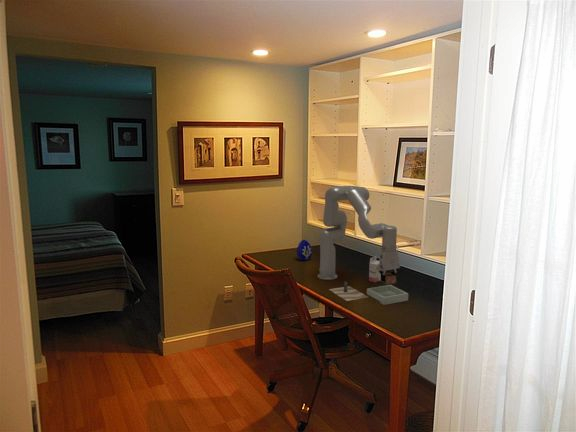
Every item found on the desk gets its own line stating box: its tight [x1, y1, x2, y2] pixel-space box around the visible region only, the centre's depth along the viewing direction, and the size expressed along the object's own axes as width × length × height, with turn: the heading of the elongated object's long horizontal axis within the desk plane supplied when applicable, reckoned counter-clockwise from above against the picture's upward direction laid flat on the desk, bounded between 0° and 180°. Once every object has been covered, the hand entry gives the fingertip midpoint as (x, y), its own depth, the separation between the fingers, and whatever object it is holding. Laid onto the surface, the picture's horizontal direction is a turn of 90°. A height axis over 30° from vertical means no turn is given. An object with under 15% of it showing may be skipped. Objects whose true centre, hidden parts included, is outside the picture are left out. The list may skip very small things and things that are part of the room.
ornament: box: [296, 239, 313, 261], centre depth 324 cm, size 11×9×15 cm
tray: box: [366, 284, 409, 306], centre depth 249 cm, size 16×16×4 cm
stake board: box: [329, 281, 369, 302], centre depth 254 cm, size 20×14×6 cm
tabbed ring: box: [379, 273, 397, 285], centre depth 249 cm, size 6×8×4 cm
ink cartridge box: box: [368, 255, 381, 284], centre depth 278 cm, size 9×5×15 cm, turn 141°
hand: (388, 280), depth 248 cm, fingers closed on tabbed ring, 5 cm apart
